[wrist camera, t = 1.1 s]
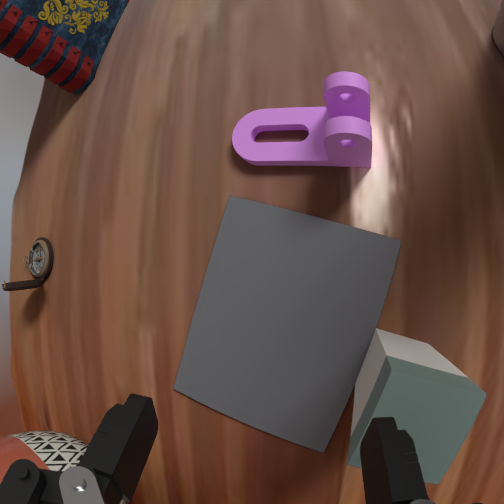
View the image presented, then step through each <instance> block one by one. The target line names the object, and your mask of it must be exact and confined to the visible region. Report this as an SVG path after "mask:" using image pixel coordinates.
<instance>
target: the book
mask: <svg viewBox="0 0 504 504" xmlns="http://www.w3.org/2000/svg"><path fill="white" fill-rule="evenodd" d="M128 2H129V0H0V53H2V54H4V55H6V56H8V57H9V58H11V57H12V58H14V59H15V61H16V62H18V63H20V64H22V65H24V66H26V67H27V66H28V67H30V70H32V71H34V72H36V73H38V74H40V75H43V76H44V77H45V79H47V80H49V81H51V82H53V83H55V84H58V85H59V87H61V88H63V89H64V90H66V91H68V92H70V93H71V92H72V93H73V94H79V93H81V92H82V91H84V90H85V89H86V88H87V87H88V86H89V85H90V84H91V82H92V81H93V79H94V78H95V74H96V71H97V68H98V66H99V63H100V61H101V58H102V56H103V54H104V51H105V49H106V47H107V44H108V42H109V40H110V38H111V36H112V33H113V31H114V29H115V27H116V25H117V23H118V21H119V19H120V17H121V15H122V13H123V11H124V9H125V7H126V5H127V3H128Z"/></svg>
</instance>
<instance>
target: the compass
mask: <svg viewBox="0 0 504 504" xmlns="http://www.w3.org/2000/svg"><path fill="white" fill-rule="evenodd" d="M26 257H27V258H28V260H27V261H26V263H27V264H28V266H29V269H30V271H31V274H32V276H33V277H34V278H35V279H36V280H27V281H18V282H10V283H5V280H4V284H2V285H3V290H5V291H15V290H24V289H32V288H37V287H40V286H41V285H42V280H44V279H46V278H47V276H48V275H49V273H50V271H51V268H52V265H53V250H52V246H51V243H50V242H49V240H48V239H46V238H42V237H39V238H38V239H37V240H36V241H35V242H34V243H33V245H32V247H31V249H30V252H29V257H28V256H26ZM26 257H25V258H26ZM25 258H24V260H25ZM24 260H23V265H24ZM28 266H27V267H28ZM24 267H25V266H24ZM27 267H25V268H27Z"/></svg>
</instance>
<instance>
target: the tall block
mask: <svg viewBox="0 0 504 504" xmlns="http://www.w3.org/2000/svg"><path fill="white" fill-rule="evenodd" d="M486 396H487V394H486V393H485V392H484V391H483V390H482V389H480V388H479V387H478V386H477V385H476V384H475V383H474V382H472V381H471V380H470V379H469V378H468V377H467V376H466V375H464V374H463V373H462V372H461V371H460V370H459V369H458V368H456V367H455V366H454V365H453V364H452V363H451V362H449V361H448V360H447V359H446V358H445V357H444V356H442V355H441V354H440V353H439V352H438V351H436V350H435V349H434V348H433V347H432V346H431V345H429V344H428V343H424V342H421V341H418V340H414V339H411V338H407V337H404V336H401V335H397V334H394V333H391V332H387V331H384V330H381V329H378V328H376V329H375V332H374V335H373V338H372V341H371V344H370V346H369V349H368V352H367V354H366V357H365V360H364V362H363V365H362V367H361V370H360V373H359V375H358V378H357V380H356V382H355V394H354V406H353V417H352V427H351V437H350V445H349V453H348V461H347V465H351V466H354V467H358V468H362V466H361V458H360V445H361V441H362V439H363V437H364V435H365V433H366V431H367V428H368V426H369V424H370V422H371V420H372V419H373V418H376V417H394V419H395V421H396V425H397V429H398V430H404V429H405V430H406V431H407V433H408V434H409V435H410V436H411V438H412V439H413V441H414V445H415V449H416V453H417V456H418V462H419V464H420V467H421V471H422V475H423V479H424V482H426V483H432V484H439V482H440V481H441V479H442V478H443V476H444V474H445V473H446V471H447V470H448V468H449V466H450V465H451V463H452V462H453V460H454V458H455V456H456V455H457V453H458V451H459V450H460V448H461V446H462V444H463V442H464V441H465V439H466V437H467V435H468V433H469V431H470V429H471V427H472V425H473V423H474V421H475V419H476V417H477V415H478V413H479V411H480V409H481V407H482V405H483V402H484V400H485V398H486Z"/></svg>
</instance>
